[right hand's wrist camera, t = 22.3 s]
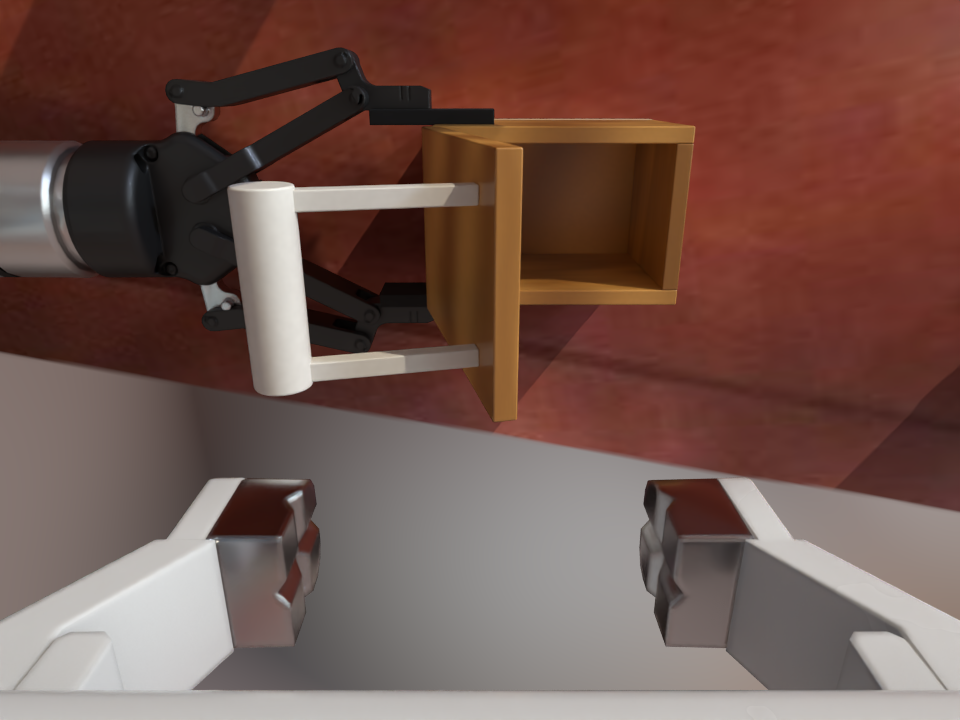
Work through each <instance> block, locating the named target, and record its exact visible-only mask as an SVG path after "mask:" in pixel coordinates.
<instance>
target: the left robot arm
mask: <svg viewBox="0 0 960 720" xmlns="http://www.w3.org/2000/svg"><path fill="white" fill-rule="evenodd" d="M336 78H337V79H338V82H339V84H340V87H341V89H342V92H341V93H339V94H337V95H335V96H334V97H332V98H330V99H329V100H327V101H325V102H323V103H322V104H320V105H318V106H317V107H315V108H313V109H311V110H310V111H308V112H306V113H305V114H303V115H301V116H299V117H298V118H296V119H294V120H293V121H291V122H289V123H288V124H286V125H284V126H282V127H281V128H279V129H277V130H276V131H274V132H272V133H270V134H269V135H267V136H265V137H264V138H262V139H260V140H258V141H257V142H255V143H253V144H252V145H250V146H248V147H245V148H243V149H241V150H240V151H238V152H236V153H234V154H233V155H232V154H231V153H229V152H228V151H226V150H225V149H223V148H222V147H221V146H219V145H218V144H216V143H215V142H213V141H212V140H210V139H209V138H207V137H206V136H204V135H203V134H201V129H202V127H203V125H204V124H205V123H207V122H211V121H215V120H216V119H217V118H218V117H219V115H220V107H224V106H236V105H240V104H245V103H248V102H252V101H256V100H259V99H263V98H267V97H270V96H274V95H278V94H281V93H285V92H289V91H292V90H296V89H300V88H303V87H307V86H311V85H314V84H318V83H322V82H325V81H329V80H333V79H336ZM165 91H166V95H167V97H168V98H169V100H170V101H172V102H173V103H175V114H176V133H174V134H172V135H170V136H169V137H167V138H166V139H163V140H144V141H88V142H86V143H84V144H81V143H79V142H77V141H0V277H75V278H91V277H94V276H98V275H99V274H100V275H102V276H105V277H180V278H184V279H187V280H190V281H192V282H193V283H196V284H198V285H200V286H201V290H202V293H203V297H204V301H205V305H206V308H207V312H206V313H205V314H204V315H203V317H202V324H203V326H204V327H205V328H206V329H208V330H210V331H221V330H231V329H240V328H244V329H246V325H245V318H244V311H243V303H242V296H241V291H239V290H237V289H231V288H229V287H227V286H226V285H225V284H224V283H223V280H222V278H223V277H225V276H226V275H227V274H228V273H230V272H231V271H232V270H233V269H235V268H236V267H238V266H237V259H236V251H235V244H234V237H233V229H232V222H231V214H230V207H229V199H228V192H227V188H228V186H230V185H233V184H238V183H246V182H261V181H262V180H259V179H258V177H257V175H256V173H258V172H260V171H261V170H263V169H265V168H267V167H268V166H270V165H272V164H273V163H275V162H276V161H278V160H280V159H281V158H283V157H285V156H287V155H288V154H290V153H292V152H293V151H295V150H297V149H299V148H300V147H302V146H304V145H306V144H307V143H309V142H311V141H313V140H314V139H316V138H318V137H319V136H321V135H323V134H325V133H326V132H328V131H330V130H332V129H333V128H335V127H337V126H339V125H340V124H342V123H344V122H346V121H347V120H349V119H351V118H352V117H354V116H356V115H358V114H359V113H361V112H363V111H365V110H369V117H370V125H435V124H494V109H432V106H431V90H430V89H427V88H425V87H423V86H375V85H372V84H371V83H369V82H368V81H367V79H366V78H365V76H364V73H363V71H362V68H361V66H360V62H359V58H358V56H357V55H356V54H355V53H354V52H352V51H350V50H347V49H344V48H334V49H331V50H327V51H324V52H320V53H316V54H313V55H309V56H305V57H302V58H298V59H295V60H291V61H287V62H284V63H280V64H276V65H273V66H269V67H266V68H262V69H258V70H255V71H251V72H247V73H244V74H240V75H237V76H233V77H229V78H226V79H222V80H218V81H215V82H206V81H197V80H182V79H173V80H171V81H169V82H168V83H167V85H166V89H165ZM302 267H303V277H304V287H305V296H307V297H309V298H311V299H313V300H315V301H317V302H319V303H322V304H324V305H326V306H328V307H330V308H332V309H334V310H336V311H338V312H340V313H343V314H345V315H347V316H349V317H351V318H353V319H350V318H345V317H341V316H336V315H332V314H328V313H323V312H319V311H314V310H310V309H307V318H308V328H309V338H310V343H311V344H316V345H320V346H325V347H329V348H334V349H338V350H343V351H347V352H352V353H356V354H357V353H367V352H368V351H369V349H370V347H371V344H372V342H373V339H374V337H375V334H376V331H377V328H378V327H379V326H380V325H382V324H384V323H428V322H431V321H433V320H434V319H433V317H432V316H431V314H430V312H429V310H428V309H427V290H426V283H385V284H384V286H383V289H382V291H381V293H380V295H377V294H375V293H373V292H371V291H369V290H367V289H365V288H363V287H361V286H359V285H357V284H355V283H353V282H350V281H348V280H346V279H344V278H342V277H340V276H338V275H336V274H334V273H332V272H330V271H328V270H326V269H324V268H322V267H320V266H318V265H316V264H314V263H311V262H309V261H307V260H305V259H303V258H302ZM354 319H355V320H354Z"/></svg>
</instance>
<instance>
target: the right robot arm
mask: <svg viewBox="0 0 960 720" xmlns="http://www.w3.org/2000/svg"><path fill="white" fill-rule="evenodd" d="M315 507H316V497H315V489H314V485H313V483H312V481H311V480H310V479H266V478H247V479H245V478H214V479H210V480H208V481H207V483H206V484H205V485H204V487H203V488H202V490H201V491H200V492H199V494H198V495H197V497H196V498H195V499H194V501H193V502H192V503H191V505H190V506H189V508H188V509H187V510H186V512H185V513H184V515H183V516H182V517H181V519H180V520H179V522H178V523H177V525H176V526H175V527H174V529H173V530H172V531H171V533H170V534H169V536H168V537H167V538H166V540H154V541H152V542H150V543H148V544H146V545H144V546H142V547H140V548H138V549H136V550H135V551H133V552H131V553H129V554H127V555H125V556H123V557H121V558H119V559H117V560H115V561H113V562H111V563H110V564H108V565H106V566H104V567H102V568H100V569H98V570H96V571H94V572H92V573H90V574H88V575H87V576H85V577H83V578H81V579H79V580H77V581H75V582H73V583H71V584H69V585H67V586H65V587H63V588H61V589H60V590H58V591H56V592H54V593H52V594H50V595H48V596H46V597H44V598H42V599H40V600H38V601H36V602H35V603H33V604H31V605H29V606H27V607H25V608H23V609H21V610H19V611H17V612H15V613H13V614H11V615H10V616H8V617H6V618H4V619H2V620H0V720H960V621H959V620H958V619H956V618H954V617H952V616H950V615H948V614H946V613H944V612H942V611H940V610H938V609H937V608H935V607H933V606H931V605H929V604H927V603H925V602H923V601H921V600H919V599H917V598H915V597H914V596H912V595H910V594H908V593H906V592H904V591H902V590H900V589H898V588H896V587H894V586H892V585H891V584H889V583H887V582H885V581H883V580H881V579H879V578H877V577H875V576H873V575H871V574H870V573H868V572H866V571H864V570H862V569H860V568H858V567H856V566H854V565H852V564H850V563H848V562H846V561H845V560H843V559H841V558H839V557H837V556H835V555H833V554H831V553H829V552H827V551H825V550H824V549H822V548H820V547H818V546H816V545H814V544H812V543H810V542H808V541H806V540H794V539H793V537H792V536H791V534H790V533H789V532H788V530H787V529H786V527H785V526H784V525H783V523H782V522H781V520H780V519H779V518H778V516H777V515H776V514H775V512H774V511H773V509H772V508H771V507H770V505H769V504H768V502H767V501H766V500H765V498H764V497H763V496H762V494H761V493H760V491H759V490H758V489H757V487H756V486H755V484H754V483H753V482H752V480H750V479H748V478H746V477H742V478H717V479H677V480H649V481H648V482H647V485H646V489H645V496H644V507H645V509H646V512H647V515H648V517H649V521H648V522H647V523H646V524H645V525H644V526H643V527H642V528H641V534H640V547H639V548H640V566H641V571H642V577H643V581H644V584H645V587H646V590H647V591H648V592H649V593H650V594H652V595H653V596H654V597H656V598H655V607H654V614H655V617H656V619H657V622H658V625H659V628H660V631H661V634H662V637H663V640H664V643H665V645H666V646H670V647H707V648H726V651H727V652H728V653H729V654H730V655H731V656H732V657H733V658H734V659H735V660H737V661H738V662H739V663H740V664H741V665H742V666H743V667H744V668H745V669H746V670H748V671H749V672H750V673H751V674H752V675H753V676H754V677H755V678H756V679H757V680H758V681H759V682H761V683H762V684H763V685H764V686H765V687H766V688H767V689H768V690H192V689H193V688H194V687H195V686H196V685H198V684H199V683H200V682H201V681H202V680H203V679H204V678H205V677H206V676H207V675H209V674H210V673H211V672H212V671H213V670H214V669H215V668H216V667H217V666H218V665H219V664H220V663H222V662H223V661H224V660H225V659H226V658H227V657H228V656H229V655H230V654H231V653H233V652H234V649H233V648H253V647H288V646H295V643H296V640H297V637H298V634H299V631H300V628H301V625H302V623H303V620H304V617H305V614H306V607H305V598H304V597H306V596H307V595H308V594H310V593H311V592H312V591H313V590H314V587H315V584H316V580H317V577H318V571H319V564H320V533H319V528H318V527H317V526H316V525H315V524H314V523H313V522H312V521H311V517H312V515H313V512H314V509H315Z"/></svg>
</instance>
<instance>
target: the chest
mask: <svg viewBox="0 0 960 720" xmlns="http://www.w3.org/2000/svg"><path fill="white" fill-rule="evenodd" d="M432 127H442V128H446V129H450V130H454V131H458V132H462V133H466V134H470V135H475V136H479V137H483V138H487V139H491V140H495V141H499V142H503V143H507V144H511V145H515V146H519V147H522V148H523V178H522V221H521V264H520V305H674V304H676V295H677V287H678V278H679V269H680V260H681V251H682V242H683V233H684V224H685V215H686V206H687V198H688V189H689V180H690V171H691V162H692V153H693V144H692V143H693V142H694V135H695V126H689V125H683V124H676V123H669V122H663V121H656V120H652V119H494V124H435V125H433V126H432Z"/></svg>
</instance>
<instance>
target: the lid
mask: <svg viewBox="0 0 960 720" xmlns="http://www.w3.org/2000/svg"><path fill="white" fill-rule="evenodd" d="M422 155H423V184H402V185H368V186H334V187H300V188H295V187H294V185H293V184H291V183H288V182H277V181H261V182H246V183H238V184H233V185H230V186H228V188H227V192H228V199H229V207H230V214H231V222H232V229H233V237H234V244H235V251H236V259H237V266H238V274H239V281H240V288H241V296H242V303H243V311H244V318H245V325H246V333H247V340H248V348H249V355H250V363H251V370H252V377H253V385H254V389H255V390H256V391H257V392H258V393H260V394H263V395H267V396H286V395H292V394H296V393H299V392H302V391H304V390H306V389H308V388H309V387H311V385H312V384H313V382H316V381H327V380H338V379H349V378H359V377H370V376H381V375H392V374H403V373H414V372H425V371H436V370H446V369H457V368H462V369H463V371H464V373H465V374H466V376H467V378H468V379H469V381H470V383H471V385H472V386H473V388H474V390H475V391H476V393H477V395H478V397H479V398H480V400H481V402H482V404H483V405H484V407H485V409H486V410H487V412H488V414H489V416H490V417H491V419H492V421H493V422H502V421H511V420H516V419H517V394H518V351H519V308H520V264H521V221H522V178H523V148H522V147H519V146H515V145H511V144H507V143H503V142H499V141H495V140H491V139H487V138H483V137H479V136H475V135H470V134H466V133H462V132H458V131H454V130H450V129H446V128H442V127H422ZM400 208H424V223H425V256H426V290H427V309H428V310H429V312H430V314H431V316H432V317H433V319H434V321H435V322H436V324H437V326H438V328H439V329H440V331H441V333H442V335H443V336H444V338H445V340H446V341H447V343H448V345H449V346H440V347H428V348H416V349H404V350H392V351H380V352H369V353H357V354H345V355H333V356H321V357H311V348H310V338H309V328H308V318H307V308H306V297H305V287H304V277H303V267H302V257H301V247H300V237H299V226H298V216H297V212H320V211H346V210H373V209H400Z"/></svg>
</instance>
